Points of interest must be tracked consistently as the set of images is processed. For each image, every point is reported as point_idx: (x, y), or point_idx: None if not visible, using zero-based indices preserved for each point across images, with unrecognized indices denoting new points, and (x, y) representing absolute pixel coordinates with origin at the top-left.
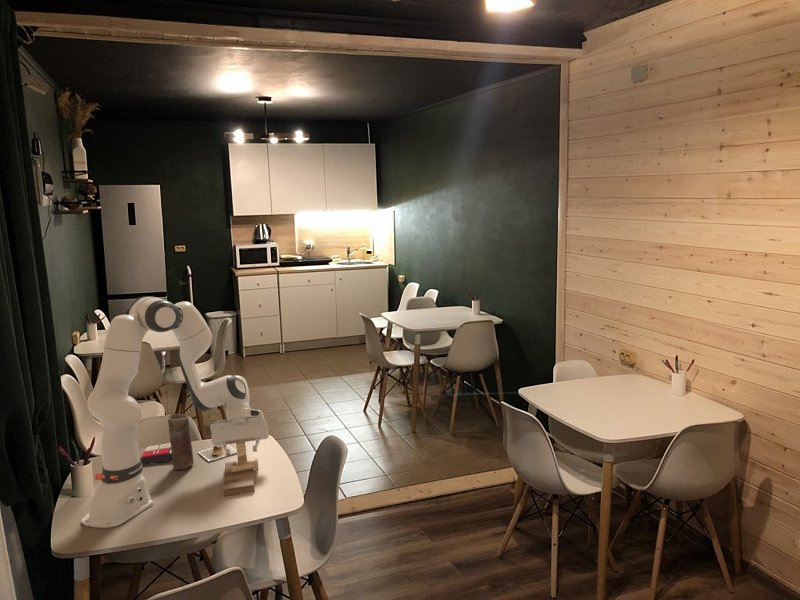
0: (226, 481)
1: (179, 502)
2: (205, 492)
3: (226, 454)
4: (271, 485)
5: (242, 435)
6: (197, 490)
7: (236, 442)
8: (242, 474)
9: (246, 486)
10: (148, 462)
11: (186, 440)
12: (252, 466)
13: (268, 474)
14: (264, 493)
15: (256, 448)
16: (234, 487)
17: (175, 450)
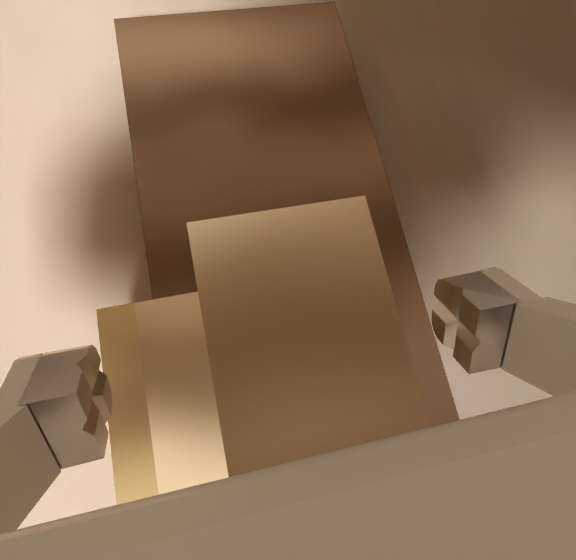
0: (348, 113)
1: (570, 38)
2: (466, 119)
3: (481, 272)
4: (5, 125)
5: (302, 550)
6: (530, 155)
7: (407, 361)
8: (241, 206)
9: (171, 16)
10: None
11: None
12: (156, 301)
13: (35, 316)
14: (55, 30)
15: (18, 366)
16: (259, 14)
17: None
